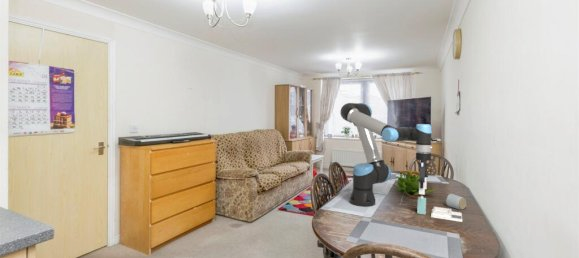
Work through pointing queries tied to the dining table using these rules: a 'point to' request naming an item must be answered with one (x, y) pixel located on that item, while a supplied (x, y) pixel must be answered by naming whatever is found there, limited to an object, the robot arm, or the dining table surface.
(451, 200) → the ceramic mug
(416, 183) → the potted flower
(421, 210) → the block
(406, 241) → the dining table surface
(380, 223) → the dining table surface
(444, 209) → the outlet plate
